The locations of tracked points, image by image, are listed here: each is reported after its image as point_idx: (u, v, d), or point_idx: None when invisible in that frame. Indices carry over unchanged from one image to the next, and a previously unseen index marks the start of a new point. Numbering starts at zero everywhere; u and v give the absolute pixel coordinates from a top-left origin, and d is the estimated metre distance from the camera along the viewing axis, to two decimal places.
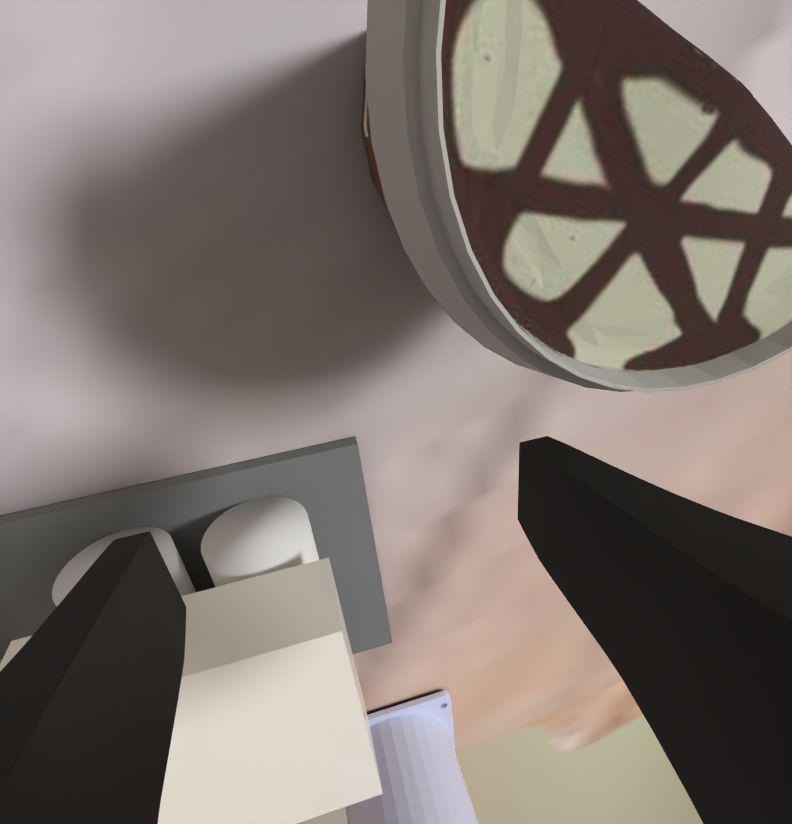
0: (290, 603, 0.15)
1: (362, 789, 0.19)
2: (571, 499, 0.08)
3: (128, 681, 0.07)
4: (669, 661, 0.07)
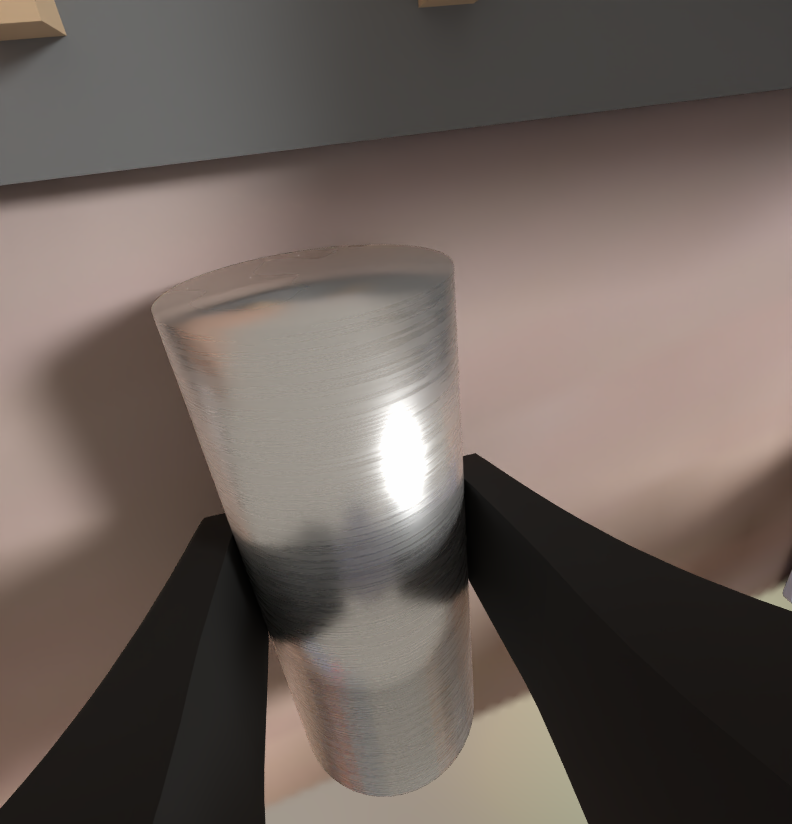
0: None
1: None
2: (486, 521, 0.08)
3: (237, 648, 0.07)
4: (568, 695, 0.06)
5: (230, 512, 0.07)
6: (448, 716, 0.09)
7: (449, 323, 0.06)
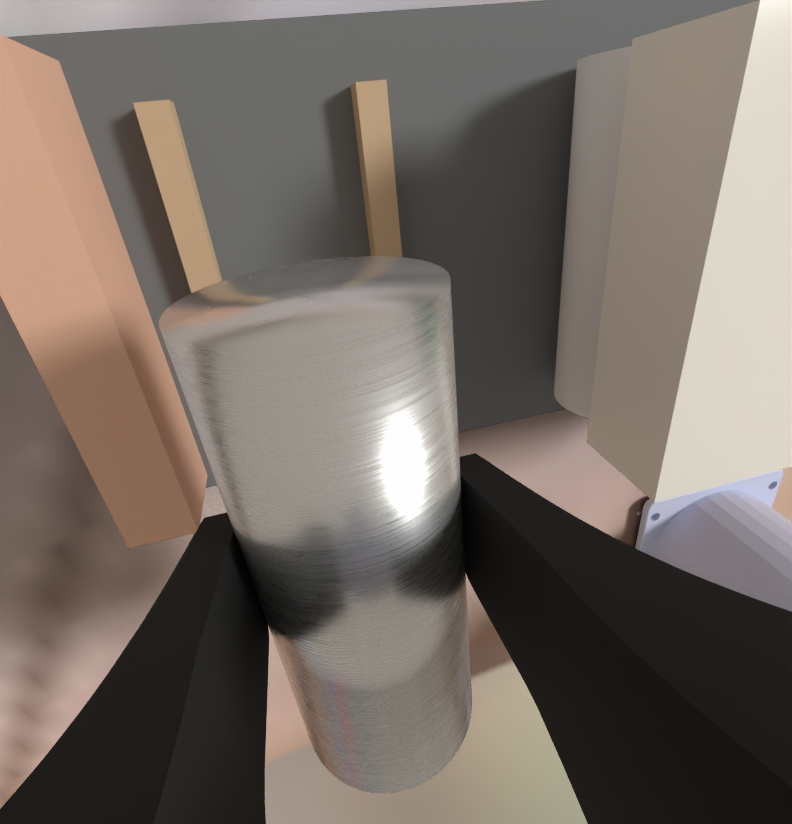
0: None
1: None
2: (486, 521, 0.08)
3: (237, 648, 0.07)
4: (568, 695, 0.06)
5: (238, 521, 0.07)
6: (450, 710, 0.10)
7: (448, 333, 0.06)
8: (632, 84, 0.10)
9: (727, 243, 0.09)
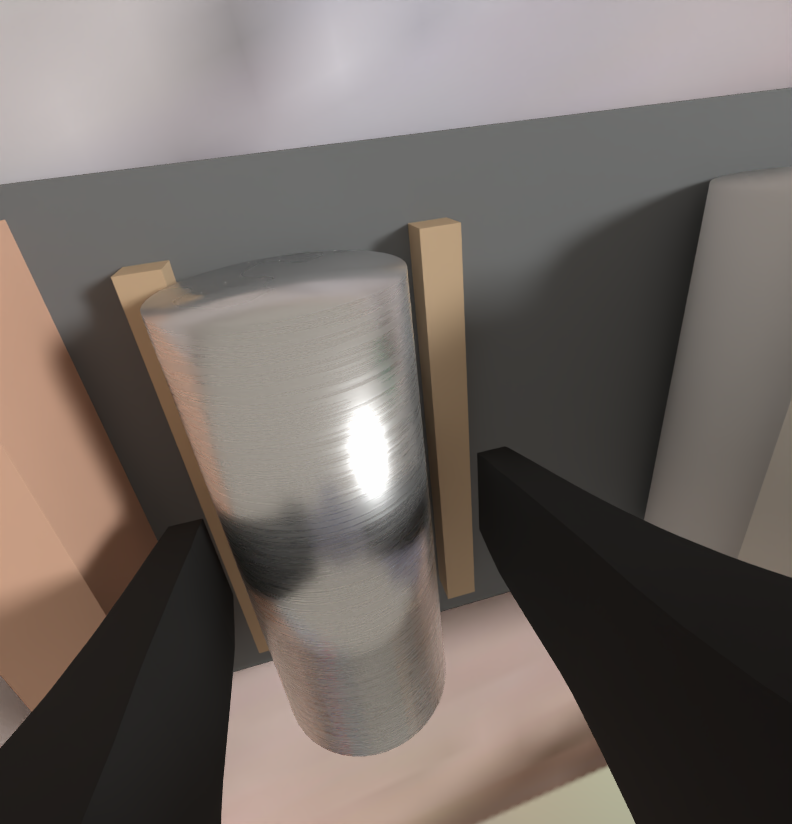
0: None
1: None
2: (522, 512, 0.08)
3: (194, 661, 0.07)
4: (611, 681, 0.07)
5: (205, 481, 0.08)
6: (406, 690, 0.10)
7: (392, 328, 0.07)
8: None
9: None
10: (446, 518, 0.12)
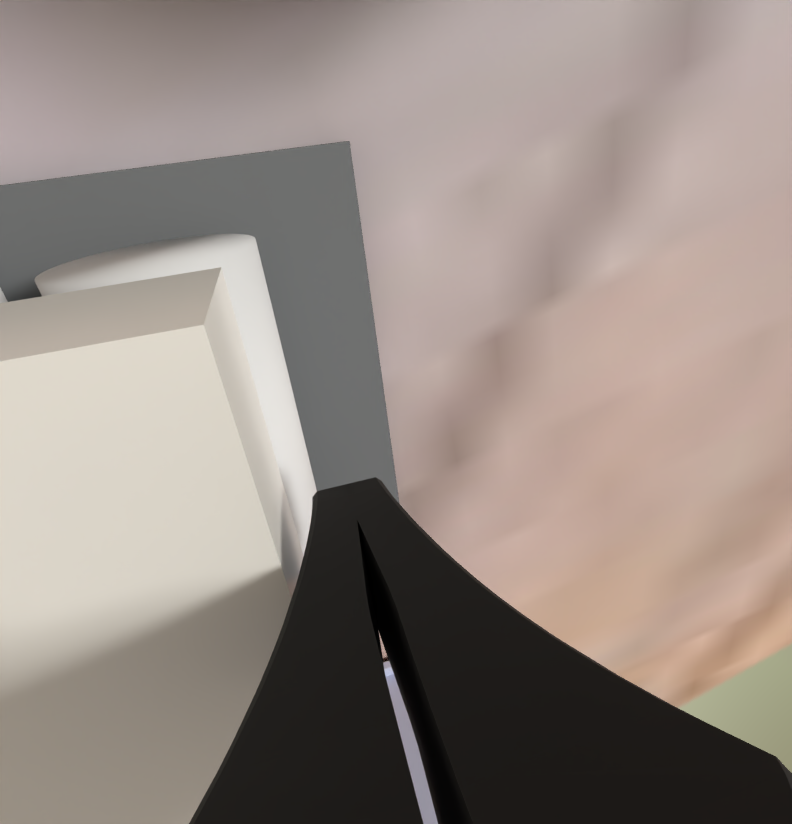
0: (101, 309, 0.06)
1: None
2: (366, 553, 0.08)
3: (372, 610, 0.07)
4: (424, 743, 0.06)
5: None
6: None
7: None
8: None
9: None
10: None
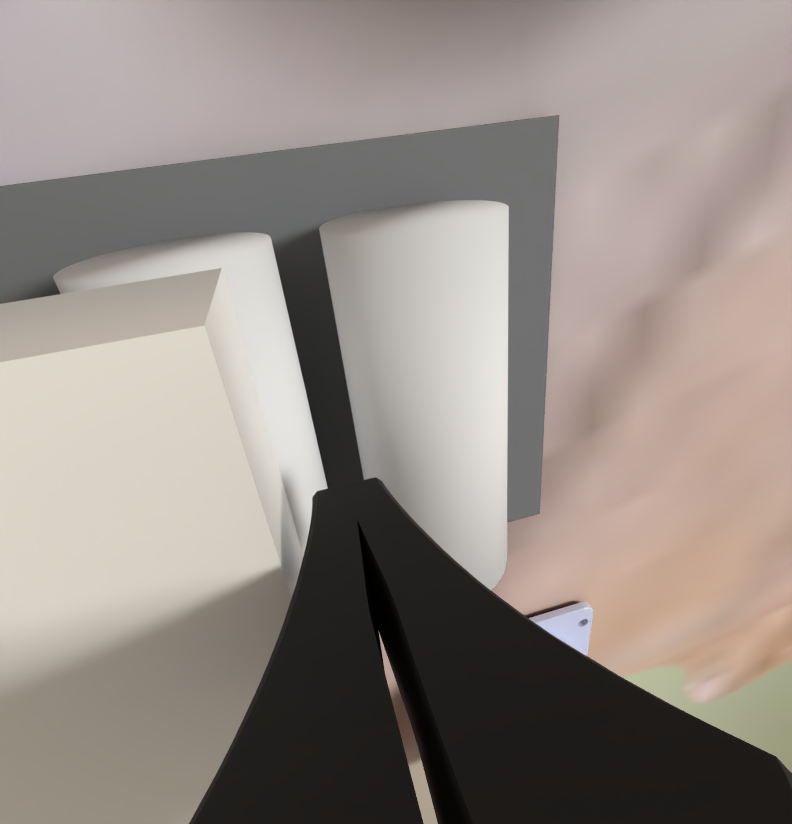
0: (101, 310, 0.06)
1: None
2: (366, 553, 0.08)
3: (372, 610, 0.07)
4: (424, 743, 0.06)
5: None
6: None
7: None
8: None
9: None
10: None
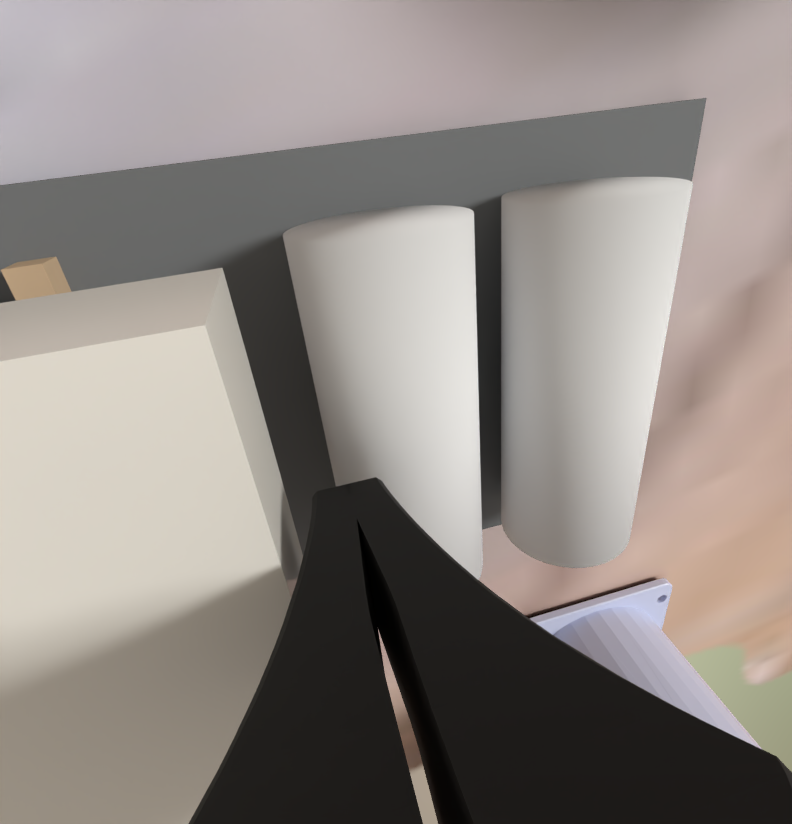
0: (101, 309, 0.06)
1: None
2: (367, 553, 0.08)
3: (371, 610, 0.07)
4: (424, 743, 0.06)
5: None
6: None
7: None
8: None
9: None
10: None
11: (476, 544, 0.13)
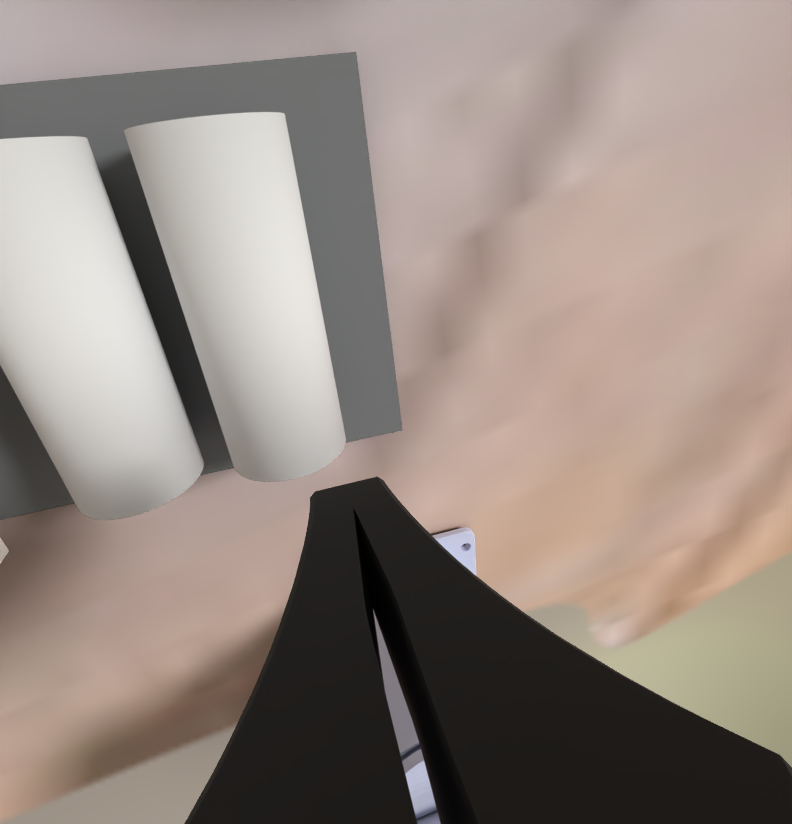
0: None
1: None
2: (368, 552, 0.08)
3: (369, 611, 0.07)
4: (426, 742, 0.06)
5: None
6: None
7: None
8: None
9: None
10: None
11: (164, 455, 0.15)
